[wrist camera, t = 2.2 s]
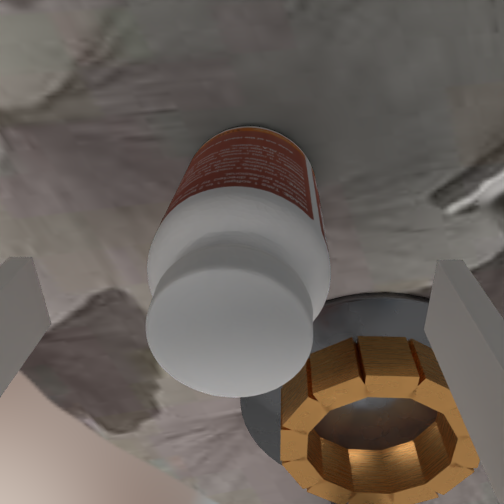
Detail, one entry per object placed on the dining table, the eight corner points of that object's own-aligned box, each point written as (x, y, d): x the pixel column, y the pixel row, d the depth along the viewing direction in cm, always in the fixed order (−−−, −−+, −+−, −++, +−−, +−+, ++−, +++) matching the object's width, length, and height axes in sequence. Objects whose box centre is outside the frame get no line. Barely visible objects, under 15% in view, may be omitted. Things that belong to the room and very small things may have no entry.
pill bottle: (161, 168, 22) (67, 309, 13) (269, 95, 20) (256, 194, 11) (236, 263, 25) (205, 442, 15) (340, 205, 23) (381, 369, 13)
